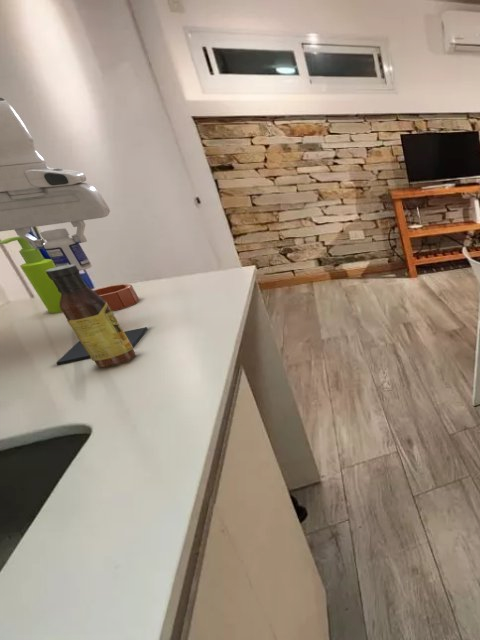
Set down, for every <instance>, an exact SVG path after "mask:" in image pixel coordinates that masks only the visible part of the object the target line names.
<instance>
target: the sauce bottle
mask: <svg viewBox="0 0 480 640" xmlns="http://www.w3.org/2000/svg"><path fill="white" fill-rule="evenodd" d="M46 273H47V275H48V277H49V278H50V279H51V280H53V282H54V284H55V285H56V287H57V288H58V291H59V292H60V293H61V299H60V309H61V311H62V312H61V313H63V315H64V317H65V318H66V321H67V323H68V324H69V326H70V327H71V329H72V331H73V332H74V334H75V335H76V337H77V338H78V341H81V343H82V345H83V346H84V348H85V349H86V351H87V352H88V354H89V355H90V357H91V358H90V359H91V361H94V363H95V364H96V366H97V367H98V368H110V367H111V368H112V367H114V366H118V365H121V364H123V363H126V362H129V361H130V360H131V359H133V358H135V356H136V351H135V350H134V347H133V346H132V345H131V343H130V341H129V340H128V338H127V336H126V334H125V333H124V332H125V331H124V329H123V327H122V326H121V324H120V323H119V321H118V319H117V317H116V315H115V314H114V311H111V309H110V307H109V306H108V304H107V302H106V301H105V300H104V299H103V298H101V297H100V296H99V295H98V294H97V293H95V292H94V291H93V290H94V289H92V288H91V287H90V286H88V285H87V283H86V282H85V281H84V278H83V277H82V275H81V274H80V271H79V270H78V268H77V267H76V265H73V264H72V265H64V266H59V267H55V268H52V269H48V270H46Z"/></svg>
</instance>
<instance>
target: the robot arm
mask: <svg viewBox="0 0 480 640" xmlns="http://www.w3.org/2000/svg"><path fill="white" fill-rule="evenodd" d="M26 126H27V125H25V123H24V121H23V120H22V118H21V116H20V115H19V114H18V113H17V111H16V110H15V109H14V107H13V106H12V105H11V104H10V103H9V102H8V101H7V100H6V99H5V98H3V97H1V96H0V232H7V231H14V232H15V233H16V235H17V236H18V237H19V236H20V237H22V238H24V239H25V240H27V241H29V243H30V245H31V246H32V247H34V249H39V250H43V249H45V248H44V244H45V243H46V242H45V240H44V238H40V239H38V238H36V237H35V236H33V235H32V234H30V233H31V229H30V228H36V227H43V226H51V225H57V224H65V223H70V224H71V225H72V227H74V228H76V233H75V234H72V235H71V238H73V239H74V241H75V243H79V244H82V243H87V242H88V240H87V238H86V236H85V234H84V233H85V228H86V223H85V221H87V220H89V221H90V220H96V219H103V218H106V217H108V216H109V214H110V212H111V210H110V208H109V206H108V204H107V202H106V201H105V199H104V197H103V196H102V194H101V193H100V192H99V190H98V189H96V188H95V186H93V185H92V184H90V183H88V182H87V177H86V175H85V173H84V172H82V171H78V170H72V169H63V168H56V167H50V166H49V165H48V164H47V162H46V159H44V158H43V157H42V156H41V154H40V153H39V152H38V150H37V149H36V147H35V143H34V139H33V136H32V135H31V133H30V132H29V130H28V128H27V127H26Z"/></svg>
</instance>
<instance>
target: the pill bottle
mask: <svg viewBox="0 0 480 640" xmlns="http://www.w3.org/2000/svg"><path fill="white" fill-rule="evenodd" d="M39 235H40V236H41V239H43V240H44V241H46V242H44V243H45V244H44V248H43V249H45V251H46V253H47V255H48V256H49V259H52V261H53V262H54V264H55V266H56V267H59V266H64V265H72V264H73V265H76V267H77V268H78V270H79V272H82V271H85V270H88V269H91V268H92V267H93V265H92V263H91V261H90V259H89V258H88V256H87V254H86V253H85V251H84V249H83V247H82V246H81V243H75V241H74V239H73V238H72V237H70V233H69V231H68V230H67V229H66V228H55V229H49V230H45V231H41V232H40V234H39Z"/></svg>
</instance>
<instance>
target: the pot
mask: <svg viewBox="0 0 480 640" xmlns="http://www.w3.org/2000/svg"><path fill="white" fill-rule="evenodd" d="M92 290H93V291H94V292H95V293H97V294H98V295H99V296H100V297H101V298H103V299H104V300H105V301H106V302H107V304H108V306H109V307H110V309H111V311H112V312H114V311H118V310H123V309H125V308H128V307H131V306H133V305H136V304H138V302H139V301H140V298H139V296H138V294H137V292H136V290H135V288H134V287H133V285H132V284H129V283H120V284H113V285H112V284H111V285H108V286H103V287H100V288H99V287H98V288H96V289H92Z"/></svg>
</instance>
